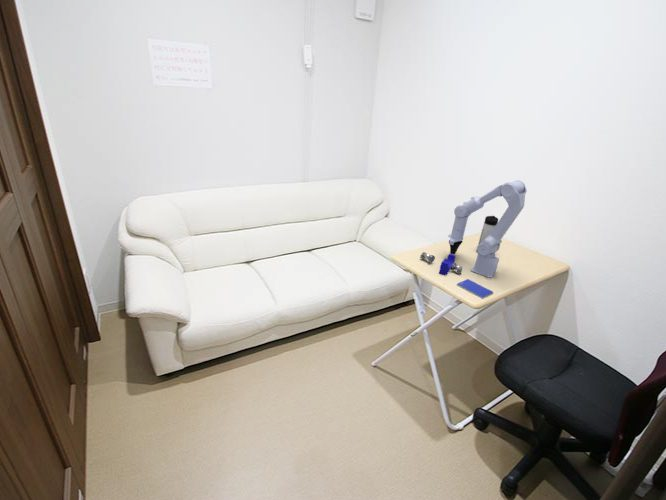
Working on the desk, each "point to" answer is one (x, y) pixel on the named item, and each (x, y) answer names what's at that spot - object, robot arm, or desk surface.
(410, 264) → the desk surface
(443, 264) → the cable clip
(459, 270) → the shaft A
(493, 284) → the desk surface
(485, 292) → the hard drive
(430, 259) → the shaft
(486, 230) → the travel mug
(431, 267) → the desk surface
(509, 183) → the robot arm
